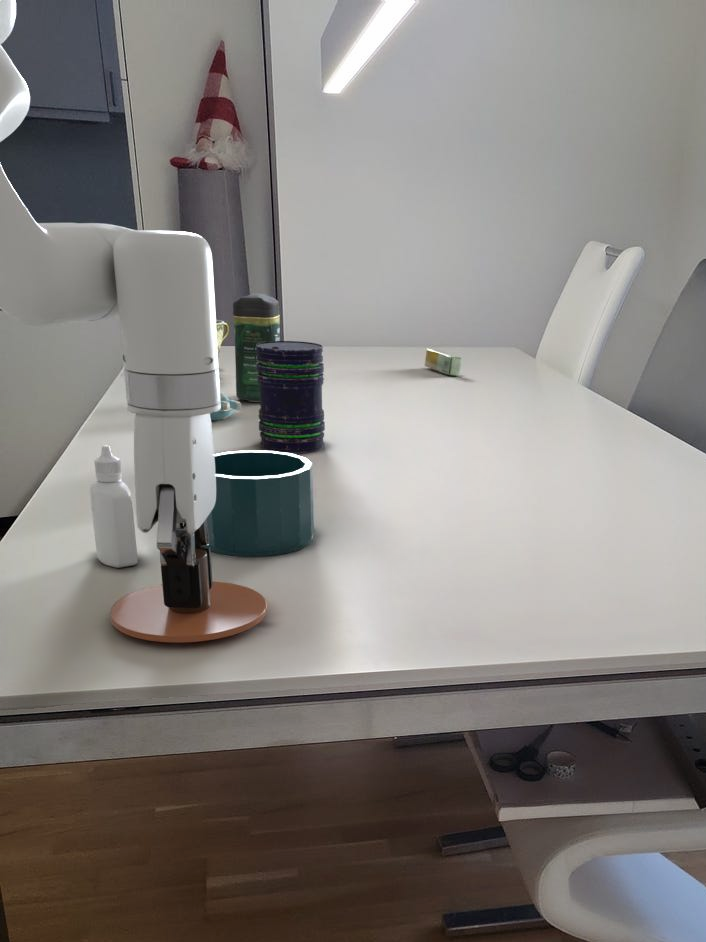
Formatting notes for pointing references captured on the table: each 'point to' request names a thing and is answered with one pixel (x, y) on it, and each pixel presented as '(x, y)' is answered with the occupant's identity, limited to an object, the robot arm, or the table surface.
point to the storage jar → (290, 396)
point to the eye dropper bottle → (112, 513)
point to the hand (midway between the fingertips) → (188, 595)
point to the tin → (261, 504)
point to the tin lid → (189, 611)
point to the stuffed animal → (225, 408)
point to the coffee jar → (252, 339)
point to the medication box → (443, 362)
